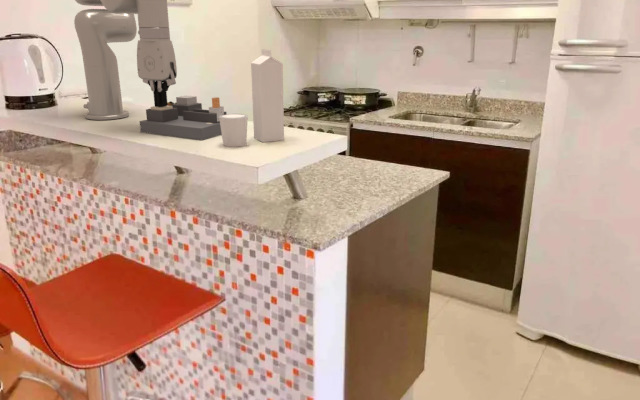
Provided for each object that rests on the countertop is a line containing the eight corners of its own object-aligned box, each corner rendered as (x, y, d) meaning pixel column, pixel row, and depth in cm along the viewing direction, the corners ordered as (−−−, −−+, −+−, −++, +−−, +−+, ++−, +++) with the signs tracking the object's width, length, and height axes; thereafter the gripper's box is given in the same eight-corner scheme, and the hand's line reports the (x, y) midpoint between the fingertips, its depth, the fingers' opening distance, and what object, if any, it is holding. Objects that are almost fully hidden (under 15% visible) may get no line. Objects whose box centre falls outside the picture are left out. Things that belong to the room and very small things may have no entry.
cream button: (151, 119, 144) (150, 106, 143) (162, 117, 147) (161, 104, 146) (162, 121, 142) (161, 108, 141) (173, 118, 145) (172, 106, 144)
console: (140, 132, 144) (138, 110, 142) (188, 121, 160) (186, 100, 158) (201, 140, 134) (199, 116, 132) (245, 127, 150) (244, 106, 148)
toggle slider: (209, 120, 142) (208, 98, 140) (216, 119, 144) (215, 96, 142) (217, 121, 140) (215, 98, 139) (224, 120, 143) (223, 97, 141)
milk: (275, 136, 140) (273, 48, 133) (284, 140, 135) (283, 49, 128) (253, 138, 137) (250, 49, 130) (261, 142, 132) (259, 50, 125)
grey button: (177, 109, 152) (176, 97, 151) (186, 107, 155) (185, 95, 154) (187, 110, 150) (187, 98, 149) (197, 108, 153) (196, 96, 152)
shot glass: (251, 141, 133) (250, 113, 131) (245, 147, 127) (244, 118, 125) (224, 140, 134) (223, 113, 132) (217, 147, 127) (215, 117, 125)
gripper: (122, 34, 138) (130, 105, 144) (166, 35, 131) (172, 110, 137) (144, 33, 144) (150, 102, 150) (186, 35, 137) (192, 106, 143)
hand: (161, 105), depth 144 cm, fingers closed
